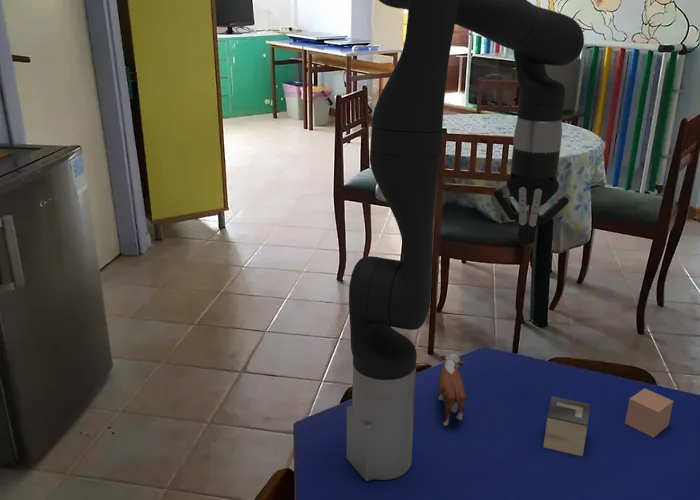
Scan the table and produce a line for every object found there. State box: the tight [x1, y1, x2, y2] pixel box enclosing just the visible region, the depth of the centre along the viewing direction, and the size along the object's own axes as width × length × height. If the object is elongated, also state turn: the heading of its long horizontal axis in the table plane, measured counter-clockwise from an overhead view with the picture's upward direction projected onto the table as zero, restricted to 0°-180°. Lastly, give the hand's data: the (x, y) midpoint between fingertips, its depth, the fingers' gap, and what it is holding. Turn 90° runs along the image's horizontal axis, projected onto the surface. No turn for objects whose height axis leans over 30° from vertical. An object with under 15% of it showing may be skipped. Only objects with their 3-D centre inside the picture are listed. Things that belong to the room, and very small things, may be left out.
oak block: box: [542, 395, 591, 457], centre depth 108 cm, size 6×6×6 cm
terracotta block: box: [624, 387, 674, 438], centre depth 113 cm, size 5×5×5 cm
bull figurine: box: [438, 353, 467, 427], centre depth 116 cm, size 4×13×8 cm, turn 174°
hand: (526, 244), depth 117 cm, fingers closed
